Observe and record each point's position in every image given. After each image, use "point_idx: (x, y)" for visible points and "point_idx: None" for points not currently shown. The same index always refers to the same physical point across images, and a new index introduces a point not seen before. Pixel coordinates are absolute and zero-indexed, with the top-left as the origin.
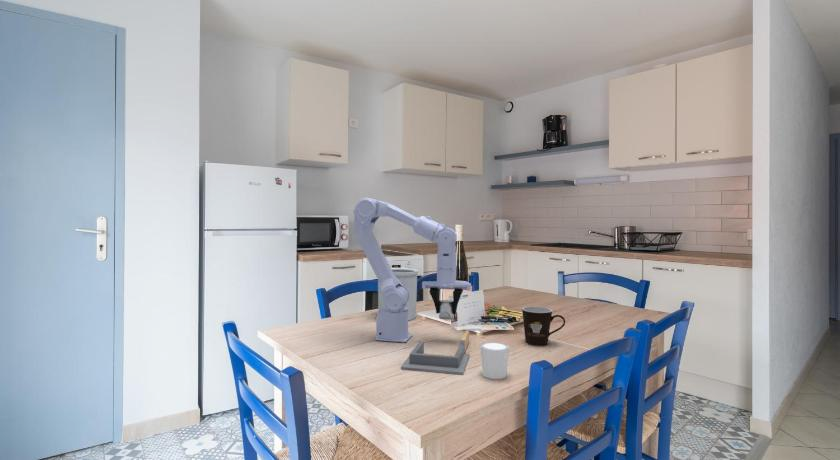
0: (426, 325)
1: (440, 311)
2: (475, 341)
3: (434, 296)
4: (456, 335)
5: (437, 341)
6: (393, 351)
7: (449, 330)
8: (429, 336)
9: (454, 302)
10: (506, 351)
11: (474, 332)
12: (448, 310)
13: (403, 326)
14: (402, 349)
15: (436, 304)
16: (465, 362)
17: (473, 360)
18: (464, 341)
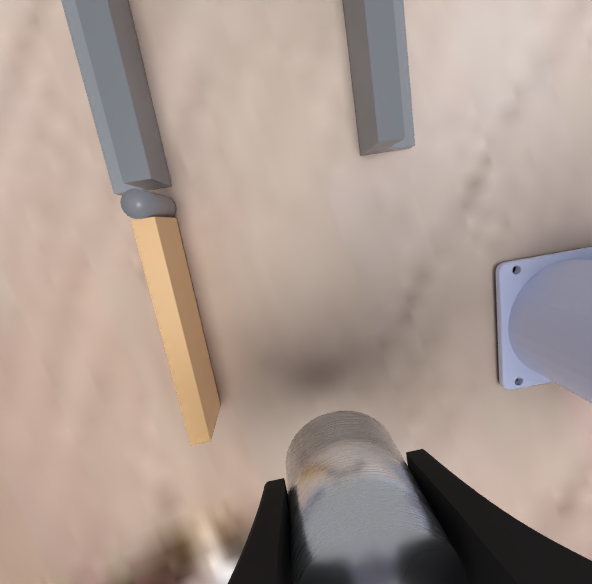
0: None
1: (393, 458)
2: (179, 428)
3: (568, 581)
4: None
5: (353, 353)
6: (511, 109)
7: None
8: (414, 409)
9: (261, 578)
10: None
11: (233, 551)
12: (319, 476)
13: (580, 308)
14: (477, 160)
15: (466, 503)
16: (76, 33)
17: (74, 134)
18: (123, 202)
